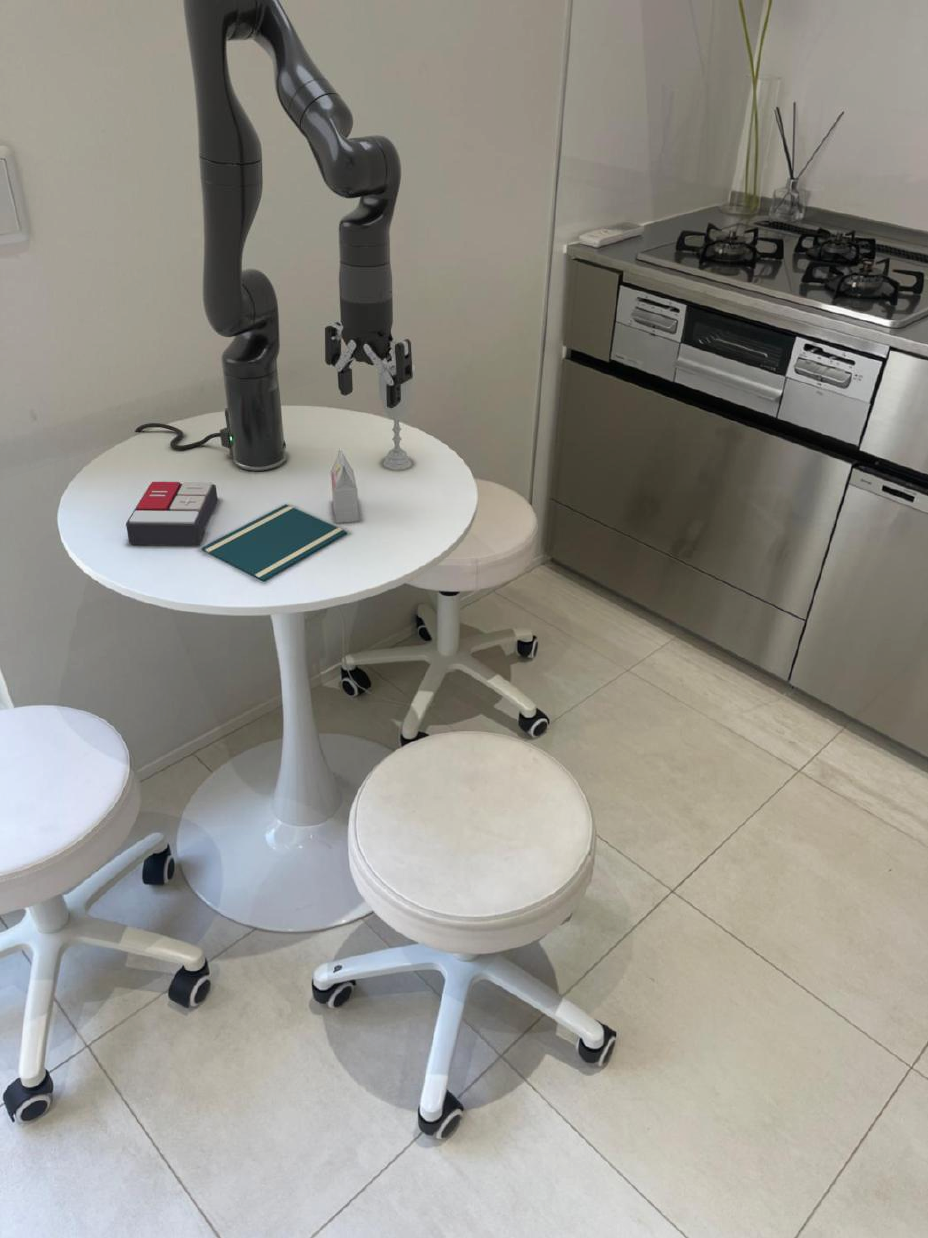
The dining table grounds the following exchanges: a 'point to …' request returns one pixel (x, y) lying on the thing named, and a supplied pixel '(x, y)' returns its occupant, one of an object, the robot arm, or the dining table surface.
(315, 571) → the dining table surface
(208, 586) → the dining table surface
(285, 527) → the cloth
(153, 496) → the calculator
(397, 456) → the chalice
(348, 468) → the white gable top carton
